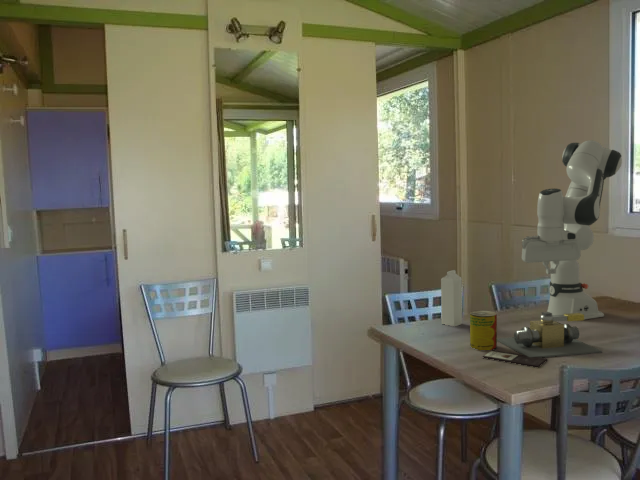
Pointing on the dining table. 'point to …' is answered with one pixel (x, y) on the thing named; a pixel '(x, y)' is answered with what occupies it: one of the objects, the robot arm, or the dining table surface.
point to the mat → (535, 351)
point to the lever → (561, 317)
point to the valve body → (546, 334)
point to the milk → (451, 299)
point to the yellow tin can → (483, 330)
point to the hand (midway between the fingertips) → (551, 273)
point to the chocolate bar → (515, 358)
